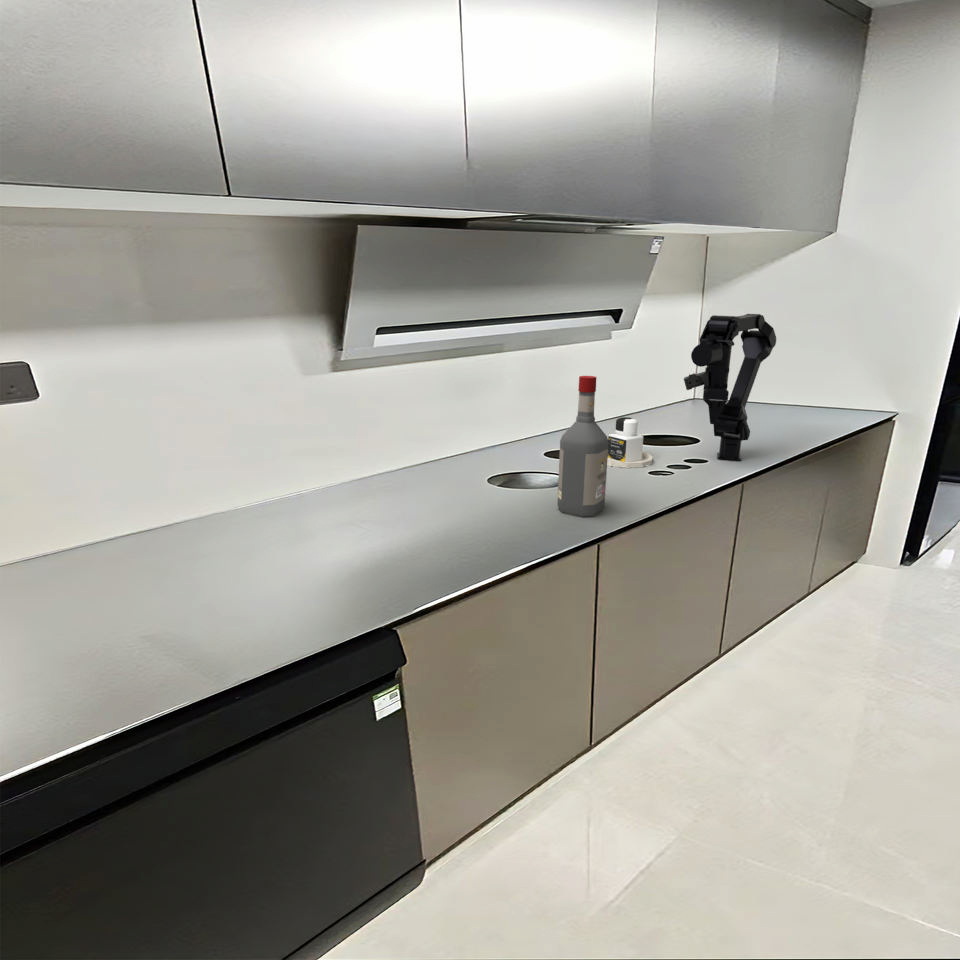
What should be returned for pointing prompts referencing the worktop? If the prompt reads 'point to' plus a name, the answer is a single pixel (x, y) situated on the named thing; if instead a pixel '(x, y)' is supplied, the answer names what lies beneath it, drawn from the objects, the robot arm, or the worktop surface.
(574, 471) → the liquor
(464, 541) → the worktop surface
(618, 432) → the medicine bottle
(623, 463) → the coaster
